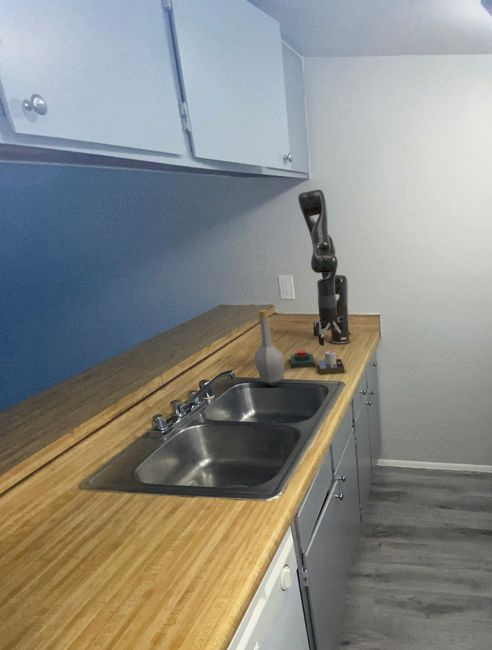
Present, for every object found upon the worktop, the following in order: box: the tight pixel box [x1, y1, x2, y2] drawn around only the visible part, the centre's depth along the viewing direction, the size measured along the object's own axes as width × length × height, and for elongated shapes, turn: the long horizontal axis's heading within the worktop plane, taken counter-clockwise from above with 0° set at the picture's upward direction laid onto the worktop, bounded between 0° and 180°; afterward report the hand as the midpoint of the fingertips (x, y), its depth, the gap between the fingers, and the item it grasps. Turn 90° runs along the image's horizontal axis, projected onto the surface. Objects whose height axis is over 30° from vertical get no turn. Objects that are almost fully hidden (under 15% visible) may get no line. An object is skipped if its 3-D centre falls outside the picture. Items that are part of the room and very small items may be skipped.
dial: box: [324, 350, 337, 365], centre depth 206 cm, size 5×5×5 cm
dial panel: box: [318, 358, 345, 375], centre depth 208 cm, size 12×10×3 cm
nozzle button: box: [296, 349, 307, 356], centre depth 213 cm, size 4×4×2 cm
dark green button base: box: [290, 352, 315, 369], centre depth 214 cm, size 12×10×4 cm
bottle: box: [253, 309, 286, 387], centre depth 182 cm, size 11×11×30 cm
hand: (330, 343), depth 203 cm, fingers open, 8 cm apart
